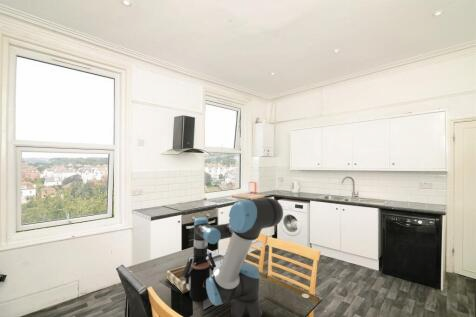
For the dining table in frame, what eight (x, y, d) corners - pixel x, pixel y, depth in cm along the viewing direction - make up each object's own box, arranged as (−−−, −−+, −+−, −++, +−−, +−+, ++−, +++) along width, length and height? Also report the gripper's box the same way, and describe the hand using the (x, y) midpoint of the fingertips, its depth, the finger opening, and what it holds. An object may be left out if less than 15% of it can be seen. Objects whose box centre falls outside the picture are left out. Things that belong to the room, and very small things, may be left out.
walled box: (206, 283, 141) (206, 275, 141) (182, 293, 131) (182, 284, 131) (189, 271, 156) (189, 263, 156) (166, 279, 146) (167, 271, 146)
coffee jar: (205, 303, 122) (206, 268, 122) (186, 300, 125) (187, 266, 125) (211, 292, 133) (212, 260, 133) (193, 289, 135) (194, 258, 135)
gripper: (215, 239, 140) (214, 275, 140) (176, 249, 123) (175, 289, 124) (222, 243, 134) (221, 280, 134) (183, 254, 118) (182, 296, 118)
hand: (199, 284), depth 129 cm, fingers open, 13 cm apart
